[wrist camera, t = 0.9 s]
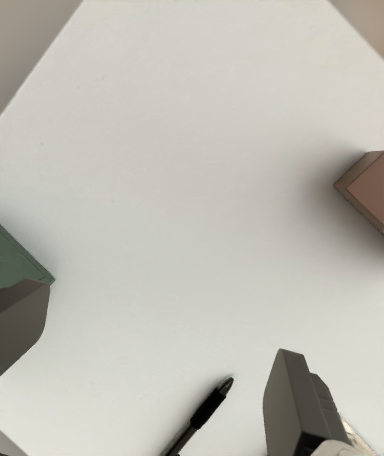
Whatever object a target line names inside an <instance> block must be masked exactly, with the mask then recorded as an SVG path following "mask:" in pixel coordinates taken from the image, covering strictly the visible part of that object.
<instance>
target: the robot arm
mask: <svg viewBox="0 0 384 456" xmlns="http://www.w3.org/2000/svg"><path fill="white" fill-rule="evenodd" d="M49 295H50V285H49V284H48V283H45V282H42V281H38V280H34V279H31V278H25V279H23V280H21V281H20V282H18V283H16V284H14V285H13V286H11V287H5V288H1V289H0V376H1V375H2V374H3V373H4V372H5V371H6V370H8V369H9V368H10V367H11V366H12V365H13V364H14V363H15V362H16V361H17V360H18V359H19V358H20V357H21V356H22V355H24V354H25V353H26V352H27V351H28V350H29V349H30V348H31V347H32V346H33V345H34V344H35V343H36V342H37V341H38V340H39V338H40V336H41V334H42V332H43V330H44V327H45V321H46V315H47V308H48V302H49ZM263 416H264V425H265V434H266V443H267V452H268V456H365V455H364V454H363V453H362V452H360V451H359V450H357V449H356V448H354V447H353V446H352V445H351V443H350V440H349V438H348V435H347V433H346V431H345V428H344V426H343V423H342V421H341V418H340V416H339V413H338V412H337V408H336V406H335V403H334V402H333V398H332V396H331V393H330V391H329V388H328V387H327V385H326V384H325V383H324V382H323V381H322V380H321V379H320V377H319V376H318V375H317V374H313V373H310V372H309V369H308V366H307V363H306V360H305V358H304V355H302V354H299V353H295V352H292V351H288V350H285V349H279V350H278V352H277V355H276V358H275V361H274V364H273V367H272V370H271V373H270V376H269V379H268V382H267V385H266V388H265V392H264V397H263ZM0 456H8V455H4V454H1V453H0Z"/></svg>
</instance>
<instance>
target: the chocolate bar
mask: <svg viewBox="0 0 384 456" xmlns="http://www.w3.org/2000/svg"><path fill="white" fill-rule="evenodd" d="M333 186H334V187H335V188H336V189H337V190H338V191H339V192H340V193H341V194H342V195H343V196H344V197H345V198H346V199H347V200H348V201H349V202H350V203H351V204H352V205H353V206H354V207H355V208H356V209H357V210H358V211H359V212H360V213H361V214H363V215H364V216H365V217H366V218H367V219H368V220H369V221H370V222H371V223H372V224H373V225H374V226H375V227H376V228H377V229H378V230H379V231H380V232H381V233H382V234H383V235H384V151H374V152H368V153H367V154H366V155H365V156H363V157H362V158H361V159H360V160H359V161H358V162H357V163H356V164H355V165H354V166H353V167H352V168H351V169H350V170H349V171H348V172H347V173H346V174H345V175H343V176H342V177H341V178H340V179H339V180H338V181H337V182H336V183H335V184H334V185H333Z"/></svg>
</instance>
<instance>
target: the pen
mask: <svg viewBox="0 0 384 456" xmlns="http://www.w3.org/2000/svg"><path fill="white" fill-rule="evenodd" d="M233 381H234V379H233V378H232V377H230V378H228V379H227V380H225V381H224V382H223V383H222V384H221V385H220V386H219V387H216V388H215V389H214V391H213V392H212V393H211V394H210V396H209V397H208V398H207V399H206V400H205V401H204V403H203V404H202V405H201V406H200V407H199V408H198V409H197V411H196V412H195V414H194V415H193V417H192V418H191V419H190V422H189V423H188V424H187V425H186V427H185V428H184V429H183V430H182V432H181V433H180V434H179V435H178V437H177V438H176V439H175V440H174V441H173V443H172V444H171V445H170V446H169V448H168V449H167V450H166V451H165V453H164V454H163V455H162V456H180V455H179V454H178V453H179V452H180V451H181V449H182V448H183V447H184V446H185V445H186V443H187V442H188V441H189V440H190V438H191V437H192V436H193V435H194V434H195V432H196V431H197V430H199V429H200V428H201V427H202V426H203V425H204V424H205V423H206V422H207V420H208V419H209V418H210V417H211V415H212V414H213V413H214V411H215V410H216V409H217V408H218V406H219V405H220V404H221V403H222V402H223V401H224V399H225V398H226V394H227V393H228V391H229V390H230V388H231V387H232V384H233Z"/></svg>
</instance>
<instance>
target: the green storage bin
mask: <svg viewBox="0 0 384 456" xmlns="http://www.w3.org/2000/svg"><path fill="white" fill-rule="evenodd" d="M25 278H31V279H34V280H38V281H42V282H45V283H48V284H49V285H51V284H52V283H53V282H54V281H55V278H54V277H53V276H52V275H51V274H50V273H49V272H48V271H47V270H46V269H45V268H43V267H42V266H41V265H40V264H39V263H38V262H37V261H36V260H35V259H34V258H33V257H32V256H31V255H30V254H29V253H28V252H27V251H26V250H25V249H24V248H23V247H22V246H21V245H20V244H19V243H18V242H17V241H16V240H15V239H14V238H13V237H12V236H11V235H10V234H9V233H8V232H7V231H6V230H5V229H4V228H3V227H2V226H1V225H0V289H1V288H5V287H11V286H13V285H14V284H16V283H18V282H20V281H21V280H23V279H25Z"/></svg>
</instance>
